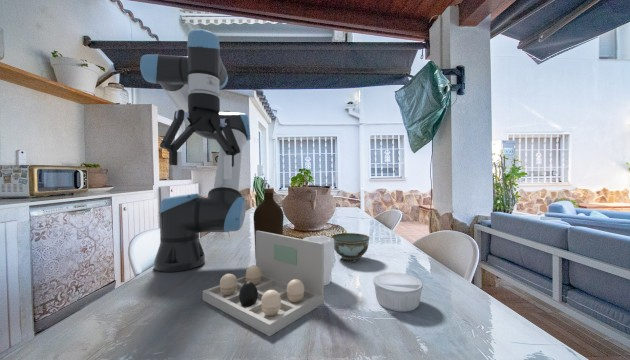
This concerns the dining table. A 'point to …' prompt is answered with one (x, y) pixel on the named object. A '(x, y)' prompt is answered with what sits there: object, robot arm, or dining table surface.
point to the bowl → (350, 245)
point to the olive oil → (268, 216)
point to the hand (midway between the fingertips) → (204, 179)
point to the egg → (248, 294)
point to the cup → (325, 254)
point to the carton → (275, 283)
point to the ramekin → (398, 291)
